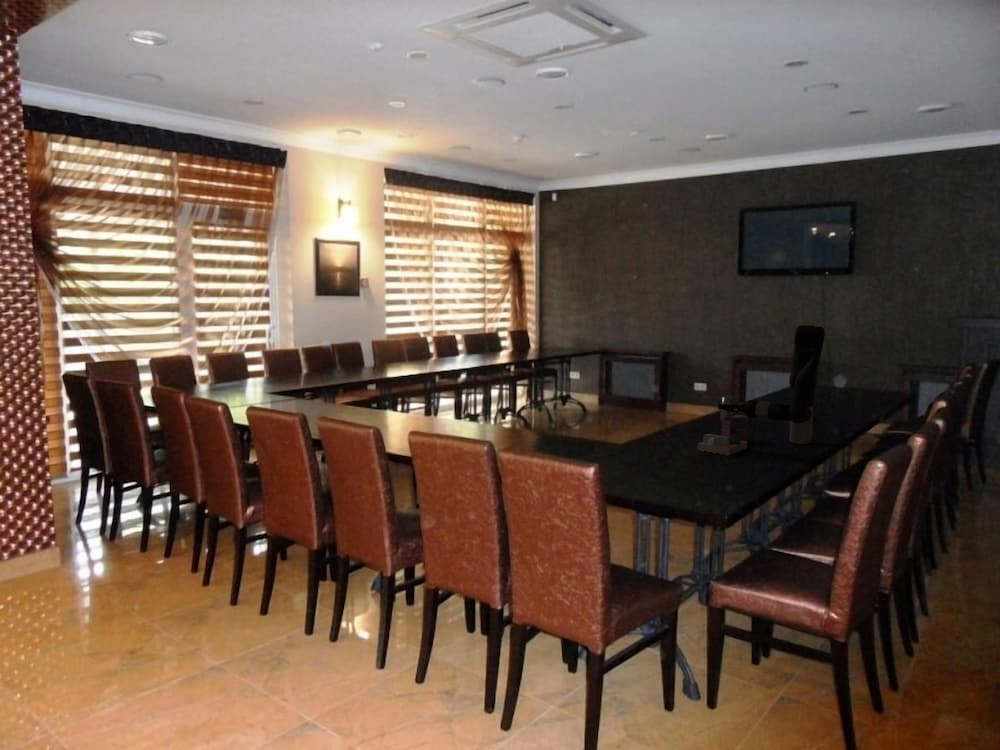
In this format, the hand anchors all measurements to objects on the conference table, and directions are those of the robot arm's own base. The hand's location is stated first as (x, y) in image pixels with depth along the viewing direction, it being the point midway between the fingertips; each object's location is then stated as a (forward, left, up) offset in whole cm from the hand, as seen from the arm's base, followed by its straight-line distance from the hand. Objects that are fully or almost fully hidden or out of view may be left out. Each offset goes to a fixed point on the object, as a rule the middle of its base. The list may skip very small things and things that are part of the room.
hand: (721, 405), depth 313 cm
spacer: (0, +3, -6) cm, 7 cm away
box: (-18, 0, -19) cm, 26 cm away
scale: (+2, +3, -19) cm, 19 cm away
